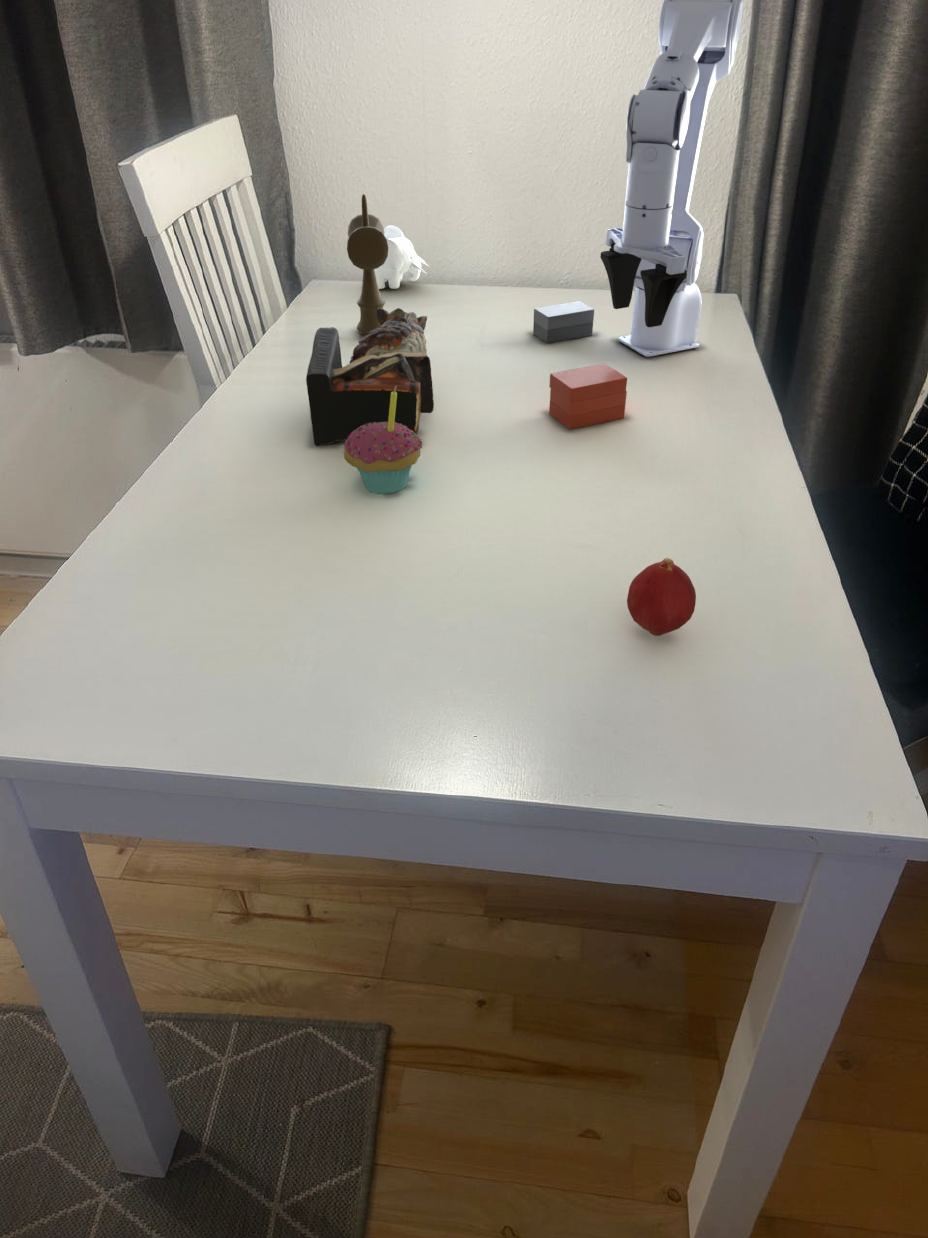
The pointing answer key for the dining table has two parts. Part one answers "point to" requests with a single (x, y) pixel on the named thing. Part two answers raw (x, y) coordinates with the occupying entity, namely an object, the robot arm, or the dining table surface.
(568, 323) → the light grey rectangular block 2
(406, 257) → the elephant figurine
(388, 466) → the cupcake
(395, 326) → the bookend
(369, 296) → the kendama
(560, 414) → the red rectangular block
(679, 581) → the onion
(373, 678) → the dining table surface
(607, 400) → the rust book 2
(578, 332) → the dark grey rectangular block
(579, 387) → the flat red block
